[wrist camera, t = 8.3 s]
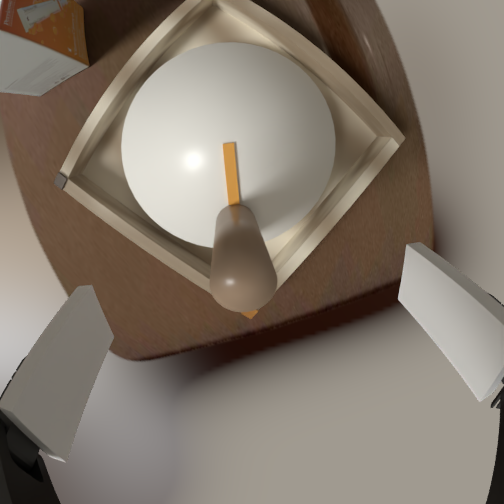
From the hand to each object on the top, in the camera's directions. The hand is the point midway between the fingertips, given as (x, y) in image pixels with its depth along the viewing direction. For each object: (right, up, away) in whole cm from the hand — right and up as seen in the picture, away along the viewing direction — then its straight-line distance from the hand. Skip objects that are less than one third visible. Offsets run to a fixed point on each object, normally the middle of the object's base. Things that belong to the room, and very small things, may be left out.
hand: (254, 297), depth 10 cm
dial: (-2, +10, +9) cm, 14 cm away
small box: (-18, +21, +5) cm, 28 cm away
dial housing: (-2, +10, +10) cm, 15 cm away
